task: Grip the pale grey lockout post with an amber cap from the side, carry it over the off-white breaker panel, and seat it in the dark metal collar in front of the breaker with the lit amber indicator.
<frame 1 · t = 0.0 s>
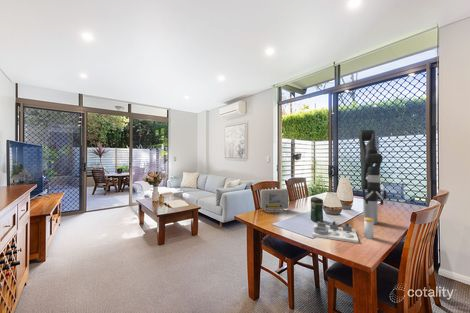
hand: (374, 204, 145), 17 cm above the table, fingers open, 8 cm apart
lockout post: (368, 237, 130), on the table
coffee jar: (316, 221, 162), on the table
network device: (274, 210, 192), on the table
breaker panel: (334, 233, 136), on the table
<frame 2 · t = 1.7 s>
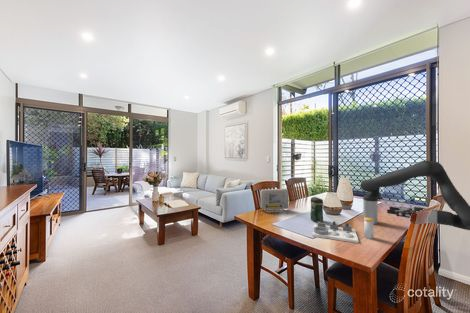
hand: (388, 209, 122), 20 cm above the table, fingers open, 8 cm apart
nothing on the table moved.
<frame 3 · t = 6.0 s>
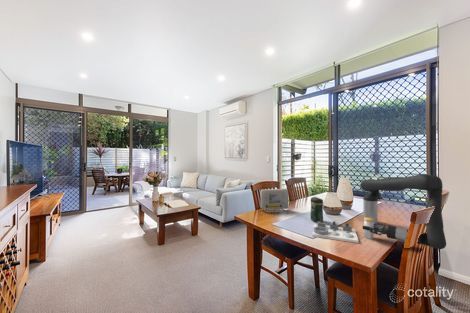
hand: (364, 226, 131), 7 cm above the table, fingers closed on lockout post, 5 cm apart
lockout post: (368, 237, 130), on the table, touching gripper
everything else where it was.
when the fingers open (9 cm above the table, at t = 12.3 s): lockout post stays where it is, resting on breaker panel.
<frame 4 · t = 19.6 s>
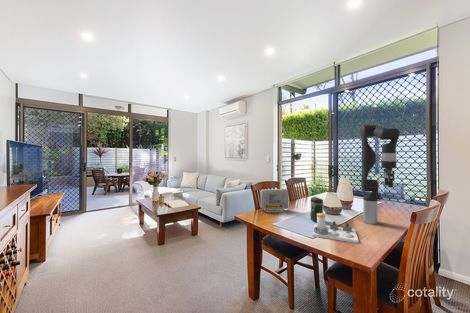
hand: (388, 186, 127), 33 cm above the table, fingers open, 8 cm apart
lockout post: (321, 232, 136), point 2 cm above the table, touching breaker panel
everything else where it was.
at the end: lockout post 0.1 cm from the target spot on the breaker panel, point 1.5 cm above the breaker panel's base; lockout post tilted 0°; the gripper is holding nothing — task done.
